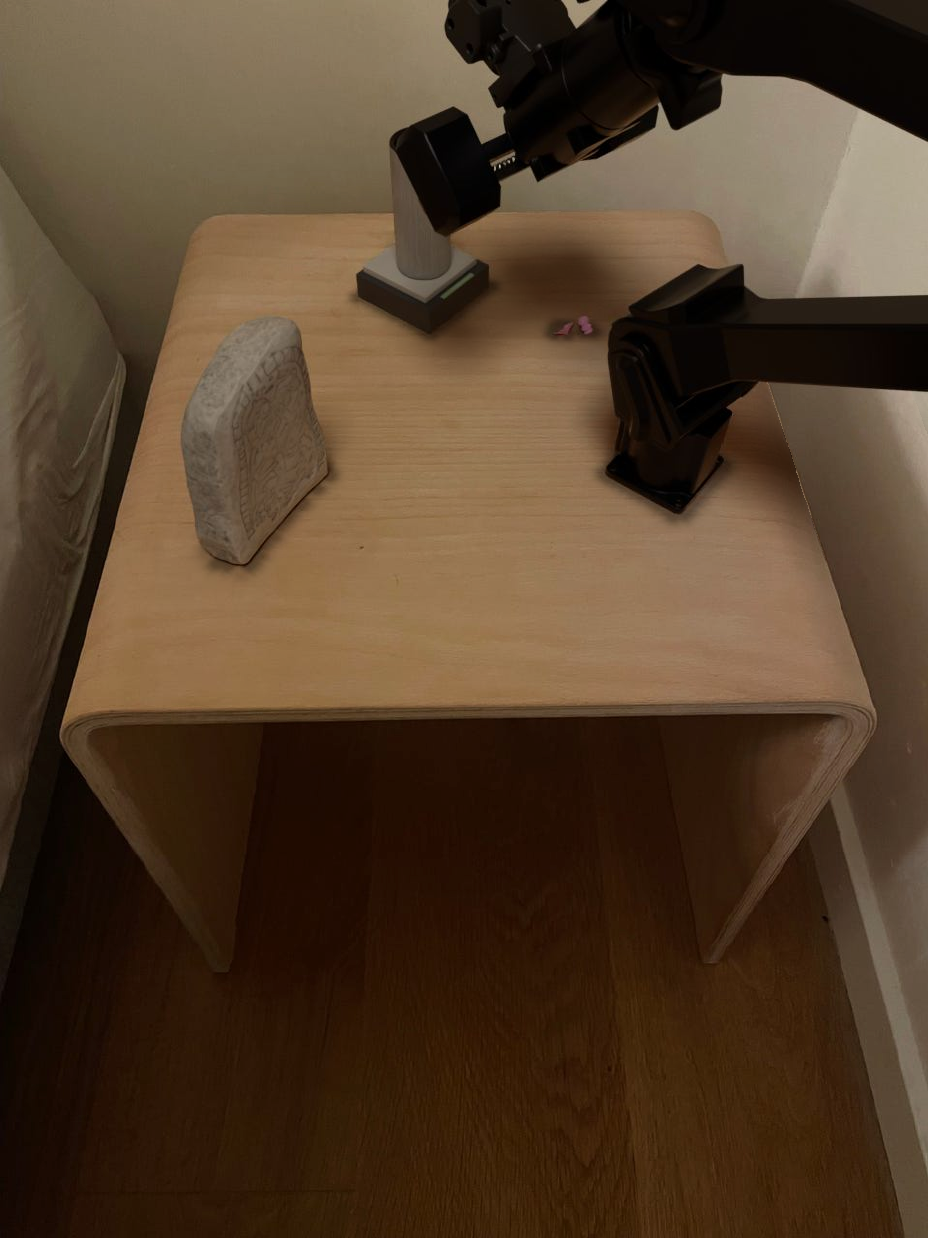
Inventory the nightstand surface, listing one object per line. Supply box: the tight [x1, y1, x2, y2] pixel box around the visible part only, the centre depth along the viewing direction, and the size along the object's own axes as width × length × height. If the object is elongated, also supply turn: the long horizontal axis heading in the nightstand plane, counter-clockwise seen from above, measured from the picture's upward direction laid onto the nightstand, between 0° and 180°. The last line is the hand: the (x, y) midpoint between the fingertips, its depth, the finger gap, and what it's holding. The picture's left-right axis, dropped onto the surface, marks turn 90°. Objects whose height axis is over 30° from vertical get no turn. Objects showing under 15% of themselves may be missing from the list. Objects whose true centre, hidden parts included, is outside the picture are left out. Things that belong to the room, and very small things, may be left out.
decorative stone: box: [180, 315, 329, 565], centre depth 58 cm, size 11×6×15 cm, turn 153°
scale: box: [355, 242, 490, 335], centre depth 76 cm, size 8×8×3 cm
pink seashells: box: [553, 315, 594, 335], centre depth 75 cm, size 3×2×2 cm
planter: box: [388, 126, 452, 280], centre depth 71 cm, size 4×4×10 cm
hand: (472, 181), depth 65 cm, fingers open, 9 cm apart
